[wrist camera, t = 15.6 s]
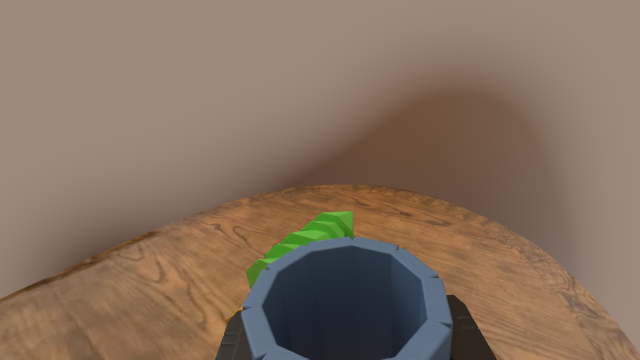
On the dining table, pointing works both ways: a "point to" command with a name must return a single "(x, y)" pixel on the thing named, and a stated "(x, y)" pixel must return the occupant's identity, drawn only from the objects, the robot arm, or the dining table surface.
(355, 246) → the sleeve
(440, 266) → the dining table surface
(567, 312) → the dining table surface
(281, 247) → the decorative tree
